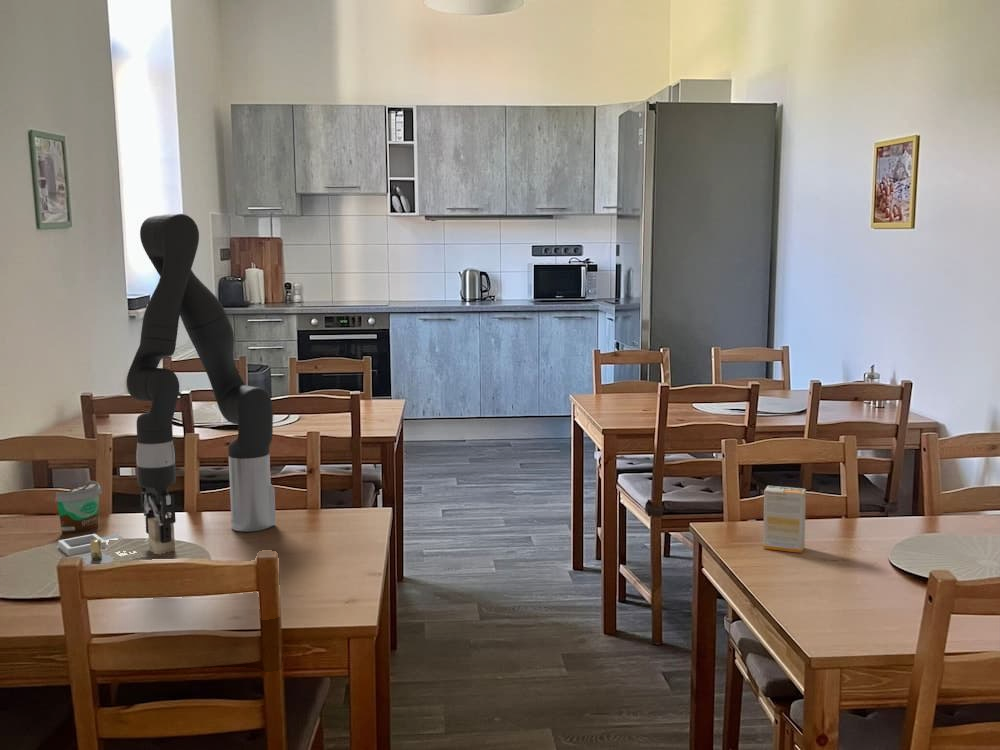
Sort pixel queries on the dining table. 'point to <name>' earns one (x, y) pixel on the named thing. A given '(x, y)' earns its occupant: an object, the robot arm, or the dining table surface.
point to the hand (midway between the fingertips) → (158, 537)
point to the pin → (96, 550)
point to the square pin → (155, 538)
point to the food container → (79, 508)
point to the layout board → (89, 548)
